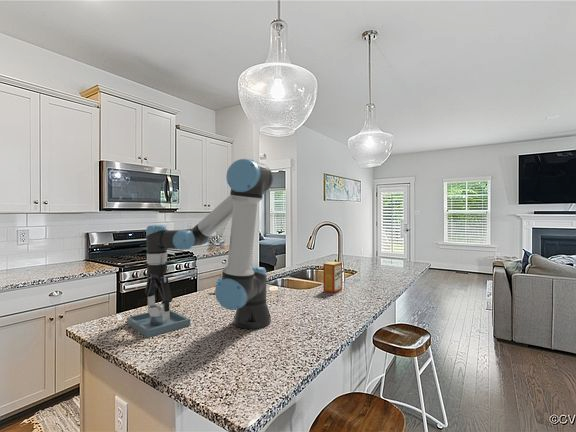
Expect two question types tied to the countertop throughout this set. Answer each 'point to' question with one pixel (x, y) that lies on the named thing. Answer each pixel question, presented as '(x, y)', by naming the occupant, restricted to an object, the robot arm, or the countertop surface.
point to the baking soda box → (332, 276)
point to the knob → (156, 315)
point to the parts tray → (144, 327)
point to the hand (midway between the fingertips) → (158, 315)
